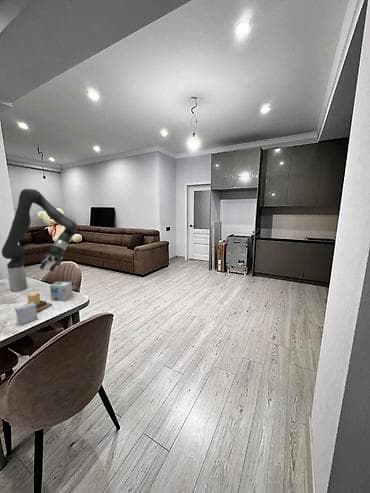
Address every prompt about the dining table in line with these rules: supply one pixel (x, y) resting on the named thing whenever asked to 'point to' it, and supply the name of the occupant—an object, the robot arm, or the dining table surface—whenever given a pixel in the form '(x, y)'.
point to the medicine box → (26, 313)
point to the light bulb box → (61, 291)
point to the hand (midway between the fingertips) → (45, 269)
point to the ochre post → (34, 298)
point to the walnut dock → (42, 306)
